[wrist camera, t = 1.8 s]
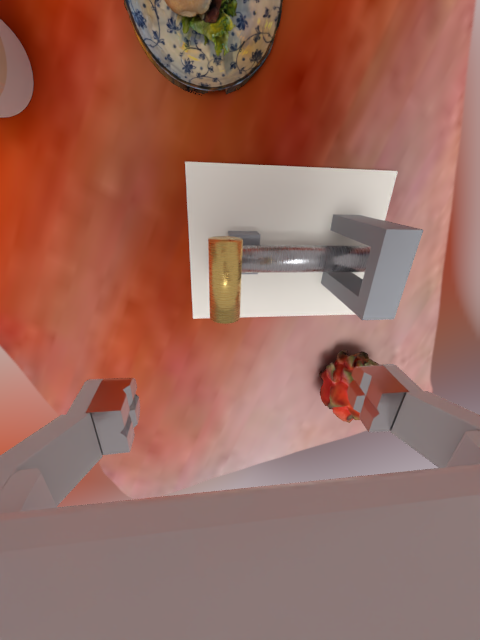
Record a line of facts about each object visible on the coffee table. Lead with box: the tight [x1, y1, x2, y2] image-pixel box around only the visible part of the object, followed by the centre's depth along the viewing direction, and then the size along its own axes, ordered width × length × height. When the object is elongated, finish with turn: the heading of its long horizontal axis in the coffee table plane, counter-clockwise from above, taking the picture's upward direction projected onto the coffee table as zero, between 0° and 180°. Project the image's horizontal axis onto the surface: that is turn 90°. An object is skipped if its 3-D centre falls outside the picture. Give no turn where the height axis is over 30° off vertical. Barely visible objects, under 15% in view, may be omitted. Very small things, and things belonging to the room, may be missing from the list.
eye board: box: [185, 162, 423, 320], centre depth 26 cm, size 21×16×10 cm
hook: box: [208, 236, 371, 323], centre depth 25 cm, size 19×6×10 cm, turn 88°
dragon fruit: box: [319, 350, 379, 423], centre depth 37 cm, size 8×8×12 cm
